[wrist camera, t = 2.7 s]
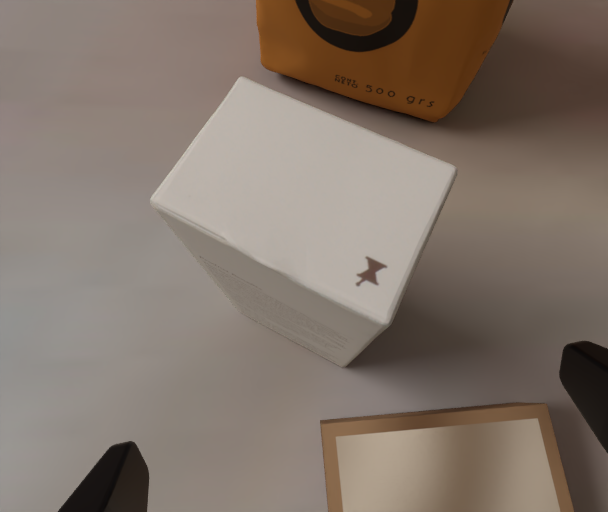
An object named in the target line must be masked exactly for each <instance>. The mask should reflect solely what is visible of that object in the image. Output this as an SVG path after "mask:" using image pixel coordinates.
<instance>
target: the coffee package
mask: <svg viewBox="0 0 608 512" xmlns="http://www.w3.org/2000/svg"><path fill="white" fill-rule="evenodd" d="M512 3H513V0H256V9H257V26H258V30H259V38H260V51H261V63H262V65H263V66H264V67H265V68H266V69H268V70H270V71H273V72H277V73H280V74H283V75H286V76H289V77H293V78H296V79H298V80H301V81H303V82H306V83H309V84H313V85H316V86H319V87H322V88H324V89H327V90H330V91H333V92H336V93H338V94H341V95H344V96H347V97H350V98H353V99H356V100H359V101H362V102H365V103H369V104H372V105H375V106H379V107H382V108H386V109H389V110H393V111H397V112H402V113H406V114H409V115H412V116H415V117H418V118H422V119H425V120H428V121H431V122H437V121H438V119H440V118H443V117H445V116H446V115H447V114H448V113H449V112H450V111H451V110H452V109H453V108H454V107H455V106H456V105H457V104H458V103H459V102H460V100H461V99H462V97H463V95H464V94H465V92H466V90H467V88H468V87H469V85H470V84H471V82H472V80H473V79H474V77H475V76H476V74H477V72H478V70H479V68H480V66H481V65H482V63H483V61H484V59H485V57H486V55H487V54H488V52H489V50H490V48H491V47H492V45H493V43H494V41H495V40H496V38H497V36H498V34H499V32H500V29H501V27H502V25H503V23H504V20H505V18H506V16H507V13H508V11H509V9H510V7H511V5H512Z"/></svg>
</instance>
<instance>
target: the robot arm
mask: <svg viewBox="0 0 608 512" xmlns="http://www.w3.org/2000/svg"><path fill="white" fill-rule="evenodd" d="M559 375H560V380H561V382H562V385H563V386H564V388H565V389H566V391H567V392H568V394H569V396H570V397H571V399H572V400H573V402H574V403H575V405H576V406H577V408H578V409H579V411H580V412H581V414H582V415H583V417H584V419H585V420H586V422H587V423H588V425H589V426H590V428H591V429H592V431H593V432H594V434H595V435H596V437H597V438H598V440H599V442H600V443H601V444H602V446H603V447H604V449H605V450H606V452H607V453H608V349H607V348H604V347H602V346H599V345H597V344H594V343H592V342H589V341H579V342H575V343H570V344H567V345H566V346H565V347H564V349H563V354H562V360H561V366H560V371H559ZM148 488H149V471H148V467H147V465H146V463H145V461H144V459H143V457H142V455H141V453H140V451H139V449H138V447H137V445H136V444H135V443H134V442H133V441H128V442H124V443H119V444H115V445H113V446H111V447H110V448H109V449H108V450H107V451H106V453H105V454H104V455H103V456H102V457H101V459H100V460H99V461H98V462H97V464H96V465H95V466H94V467H93V469H92V470H91V471H90V472H89V474H88V475H87V476H86V477H85V479H84V480H83V481H82V482H81V483H80V485H79V486H78V487H77V488H76V490H75V491H74V492H73V493H72V495H71V496H70V497H69V498H68V500H67V501H66V502H65V503H64V504H63V506H62V507H61V508H60V509H59V511H58V512H147V504H148Z"/></svg>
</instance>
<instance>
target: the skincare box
mask: <svg viewBox="0 0 608 512" xmlns="http://www.w3.org/2000/svg"><path fill="white" fill-rule="evenodd" d="M457 171H458V170H457V168H456V167H455V166H454V165H452V164H449V163H447V162H444V161H442V160H439V159H437V158H435V157H432V156H430V155H428V154H425V153H423V152H420V151H418V150H416V149H413V148H411V147H408V146H406V145H404V144H402V143H399V142H397V141H395V140H392V139H390V138H387V137H385V136H382V135H380V134H378V133H375V132H373V131H370V130H368V129H366V128H363V127H361V126H358V125H356V124H354V123H351V122H349V121H346V120H344V119H342V118H339V117H337V116H334V115H332V114H329V113H327V112H325V111H322V110H320V109H317V108H315V107H313V106H310V105H308V104H306V103H303V102H301V101H299V100H296V99H294V98H292V97H289V96H287V95H284V94H282V93H280V92H277V91H275V90H272V89H270V88H268V87H265V86H263V85H261V84H259V83H256V82H254V81H252V80H250V79H248V78H246V77H239V78H238V80H237V81H236V83H235V84H234V86H233V87H232V89H231V90H230V92H229V93H228V94H227V96H226V97H225V99H224V100H223V101H222V103H221V104H220V106H219V107H218V108H217V110H216V111H215V112H214V114H213V115H212V116H211V118H210V119H209V120H208V122H207V123H206V124H205V126H204V127H203V128H202V130H201V131H200V132H199V134H198V135H197V136H196V138H195V139H194V140H193V142H192V143H191V145H190V146H189V147H188V149H187V150H186V151H185V153H184V154H183V156H182V157H181V158H180V160H179V161H178V162H177V164H176V165H175V166H174V168H173V169H172V170H171V172H170V173H169V174H168V176H167V177H166V178H165V180H164V181H163V182H162V184H161V185H160V186H159V188H158V189H157V190H156V191H155V193H154V194H153V195H152V197H151V199H150V202H151V205H152V207H153V208H154V209H155V210H156V211H157V212H158V213H159V215H160V216H161V217H162V218H163V220H164V221H165V222H166V223H167V225H168V226H169V227H170V228H171V229H172V230H173V232H174V233H175V235H176V236H177V237H178V238H179V240H180V241H181V242H182V243H183V244H184V246H185V247H186V248H187V249H188V251H189V252H190V253H191V254H192V256H193V257H194V258H195V259H196V260H197V262H198V263H199V264H200V265H201V266H202V268H203V269H204V270H205V271H206V272H207V274H208V275H209V276H210V277H211V278H212V280H213V281H214V282H215V283H216V284H217V286H218V287H219V288H220V289H221V291H222V292H223V293H224V294H225V295H226V297H227V298H228V299H229V300H230V302H231V303H232V304H233V305H234V307H235V308H236V309H237V310H238V311H239V312H241V313H242V314H244V315H246V316H248V317H250V318H252V319H253V320H255V321H257V322H259V323H261V324H262V325H264V326H266V327H268V328H270V329H272V330H274V331H275V332H277V333H279V334H281V335H283V336H285V337H287V338H288V339H290V340H292V341H294V342H296V343H298V344H299V345H301V346H303V347H305V348H307V349H309V350H311V351H313V352H314V353H316V354H318V355H320V356H322V357H324V358H325V359H327V360H329V361H331V362H333V363H335V364H337V365H338V366H340V367H342V368H344V367H346V366H347V365H348V364H349V363H350V362H351V361H352V360H353V359H354V358H355V357H357V356H358V355H359V354H360V353H361V352H362V351H363V350H364V349H365V348H366V347H367V346H368V345H369V344H370V343H371V342H372V341H373V340H374V339H375V338H376V337H377V336H378V335H380V334H381V333H382V332H383V331H384V330H385V329H387V328H388V327H389V326H390V325H391V324H392V322H393V320H394V317H395V315H396V313H397V310H398V308H399V305H400V303H401V301H402V298H403V296H404V294H405V292H406V289H407V287H408V285H409V282H410V280H411V278H412V276H413V273H414V271H415V269H416V267H417V264H418V262H419V260H420V258H421V255H422V253H423V251H424V249H425V246H426V244H427V242H428V239H429V237H430V235H431V233H432V230H433V228H434V226H435V224H436V221H437V219H438V217H439V215H440V212H441V210H442V208H443V206H444V203H445V201H446V199H447V197H448V194H449V192H450V190H451V187H452V185H453V183H454V181H455V178H456V176H457Z"/></svg>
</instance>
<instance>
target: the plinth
mask: <svg viewBox="0 0 608 512" xmlns="http://www.w3.org/2000/svg"><path fill="white" fill-rule="evenodd" d="M320 425H321V436H322V447H323V458H324V469H325V480H326V491H327V502H328V512H574V509H573V505H572V501H571V497H570V493H569V489H568V486H567V482H566V478H565V474H564V470H563V466H562V462H561V458H560V454H559V450H558V446H557V442H556V438H555V434H554V430H553V426H552V422H551V419H550V415H549V411H548V407H547V404H542V403H506V404H495V405H484V406H473V407H462V408H451V409H440V410H429V411H418V412H407V413H396V414H385V415H374V416H363V417H352V418H341V419H330V420H320Z"/></svg>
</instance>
